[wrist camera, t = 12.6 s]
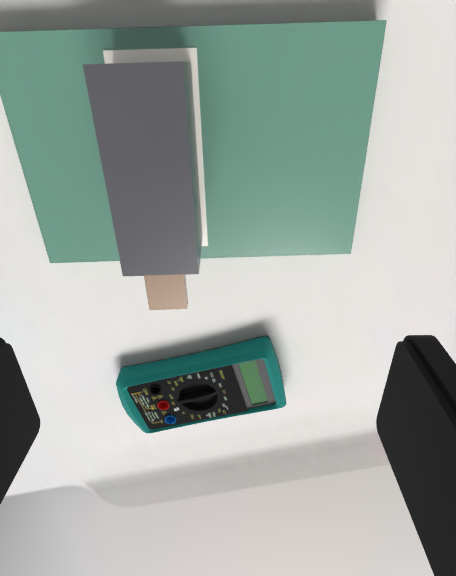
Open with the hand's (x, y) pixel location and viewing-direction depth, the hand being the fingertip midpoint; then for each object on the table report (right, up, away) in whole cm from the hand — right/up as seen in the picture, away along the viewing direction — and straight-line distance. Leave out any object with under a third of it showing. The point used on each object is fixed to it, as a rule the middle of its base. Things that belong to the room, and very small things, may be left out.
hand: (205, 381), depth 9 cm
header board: (-2, +11, +16) cm, 20 cm away
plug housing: (-3, +9, +15) cm, 18 cm away
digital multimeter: (-2, -6, +27) cm, 28 cm away
